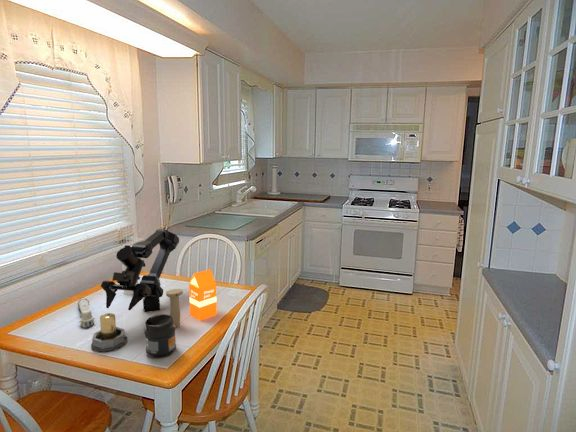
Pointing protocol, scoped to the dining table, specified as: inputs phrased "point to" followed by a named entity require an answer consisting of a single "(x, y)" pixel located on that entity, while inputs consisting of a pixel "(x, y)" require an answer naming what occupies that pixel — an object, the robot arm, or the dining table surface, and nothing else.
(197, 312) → the orange juice
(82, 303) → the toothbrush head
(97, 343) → the collar fitting
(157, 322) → the supplement container
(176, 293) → the handle
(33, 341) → the dining table surface
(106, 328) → the gold bulb-shaped piece
